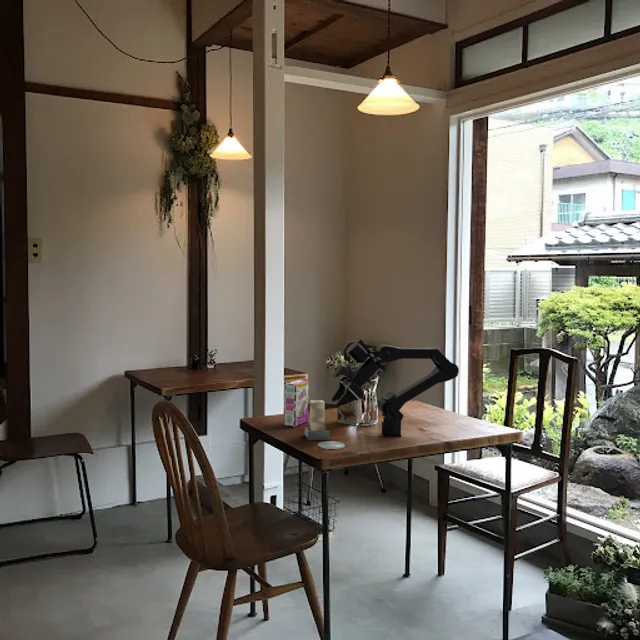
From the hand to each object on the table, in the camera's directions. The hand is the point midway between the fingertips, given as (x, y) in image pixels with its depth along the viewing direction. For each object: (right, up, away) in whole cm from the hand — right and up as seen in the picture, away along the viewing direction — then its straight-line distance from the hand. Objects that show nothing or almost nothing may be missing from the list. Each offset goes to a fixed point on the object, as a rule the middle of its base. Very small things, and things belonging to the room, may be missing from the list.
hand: (334, 403), depth 259 cm
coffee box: (+7, -11, +25) cm, 28 cm away
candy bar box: (-14, -11, +21) cm, 27 cm away
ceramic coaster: (-1, -13, -12) cm, 18 cm away
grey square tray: (-6, -12, 0) cm, 14 cm away
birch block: (-6, -12, 0) cm, 14 cm away
